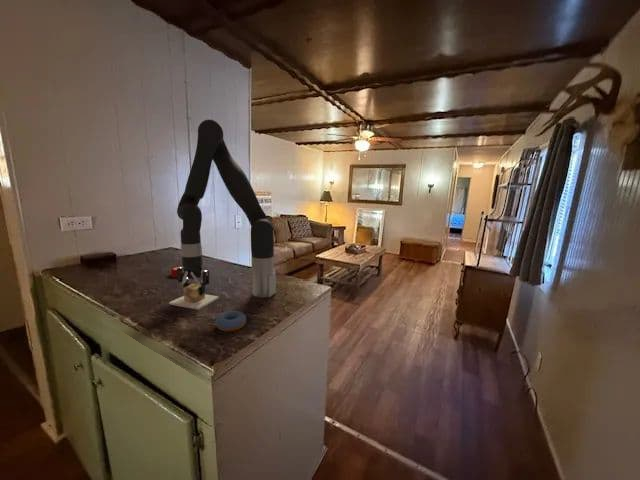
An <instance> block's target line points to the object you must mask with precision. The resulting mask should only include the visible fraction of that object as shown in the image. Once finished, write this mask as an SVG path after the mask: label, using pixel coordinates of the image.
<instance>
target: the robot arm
mask: <svg viewBox="0 0 640 480" xmlns="http://www.w3.org/2000/svg"><path fill="white" fill-rule="evenodd" d="M196 142H197V143H196V149H195V154H194V158H193V161H192V164H191V168H190V171H189V175H188V176H187V177H188V178H187V181H186V185H185V189H184V192H183V194H182V196H181V198H180V200H179V202H178V205H177V208H176V214H177V216H178V218H180V219H181V220H182V228H181V230H180V256H181V265H182V266H183V267H179V268H177V274H178V277H177V281H178V283H181V284H182V287H183V288H184V287H187V286H189V285H190V283H189V281H190V280H194V281H195V283H196V284H198V285H199V295H200V296H202V295H204V293H205V294H206V286H207V285H209V284H210V271H209V270H208V269H207V270H205V269H203V268H202V266H203V265H204V261H203V248H202V241H201V227H202V219H203V215H202V210H201V208H200V206H198V205H199V203H200V200H203V198H204V196H205V193H206V190H207V187H208V183H209V179H210V173H211V168H212V163H214V164H215V166H216V170H217V171H218V174H219V176H220V177H221V178H220V179H222V182H223V184H224V186H225V188H226V189H227V191H228V193H229V195H230V196H231V198H232V199H233V201H234V202H235V203H236V204H237V205H238V206H239V208H240V209H241V210H242V211H243V212H244V214H245V216H246V218H247V220H248V221H249V224H250V226H251V227H250V249H251V250H250V251H251V275H252V276H251V277H252V296H253V297H255V298H263V299H265V298H271V297H272V296H274V295H275V294H276V293H277V289H276V288H277V287H276V286H277V281H276V280H277V277H276V276H277V273H276V272H275V264H274V263H275V262H274V261H275V259H274V257H275V256H274V255H275V253H274V252H275V249H274V246H275V245H274V241H275V240H274V224H273V223H272V221H271V220H270V218H269V217H268V216H267V214H266V213H265V211H264V209H263V208H262V206H261V205H260V202H259V200H258V197H257V195H256V193H255V191H254V189H253V186H252V185H251V183H250V180H249V179H248V176H247V175H246V174H245V172H244V170H243V169H242V167H241V166H240V165H239V164H238V163H237V162H236V160H235V159H234V158H233V156H232V155H231V153H230V150H229V149H228V146H227V144H226V142H225V139H224V130H223V128H222V126H221V124H220V123H219V122H218V121H216V120H214V119H205V120H203V121H201V122H200V123H199V125H198V127H197V141H196ZM184 273H185V274H184ZM181 276H182V278H181ZM183 291H184V289H183Z"/></svg>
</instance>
